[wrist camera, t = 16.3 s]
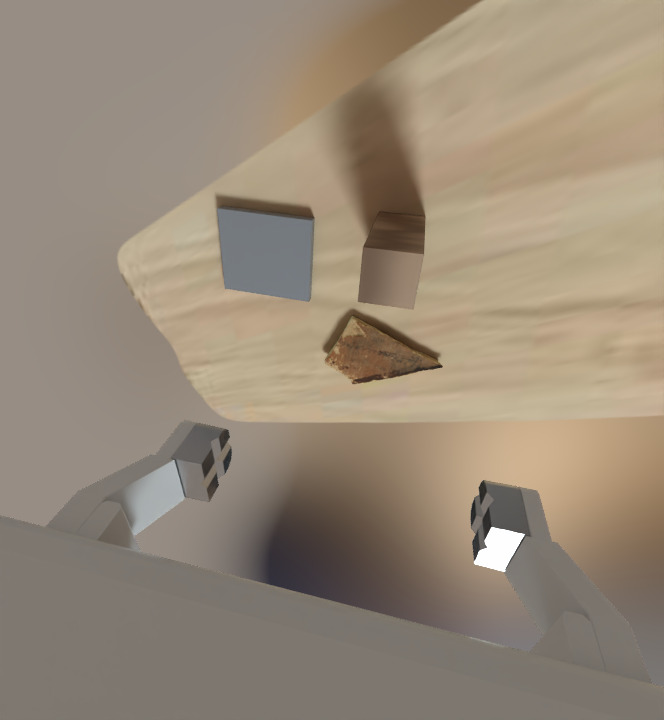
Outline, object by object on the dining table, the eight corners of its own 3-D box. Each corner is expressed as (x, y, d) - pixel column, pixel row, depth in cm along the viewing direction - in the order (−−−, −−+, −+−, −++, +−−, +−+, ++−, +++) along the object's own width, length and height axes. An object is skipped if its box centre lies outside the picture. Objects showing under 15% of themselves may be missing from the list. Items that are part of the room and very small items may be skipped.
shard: (442, 359, 41) (443, 368, 40) (403, 404, 46) (402, 414, 44) (354, 309, 40) (351, 317, 39) (322, 360, 45) (319, 369, 43)
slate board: (311, 220, 35) (217, 208, 36) (308, 301, 39) (224, 288, 40) (315, 216, 36) (224, 204, 37) (312, 295, 40) (230, 282, 42)
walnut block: (425, 216, 33) (423, 254, 25) (417, 261, 36) (413, 309, 28) (379, 211, 34) (363, 247, 26) (374, 256, 36) (357, 301, 28)
